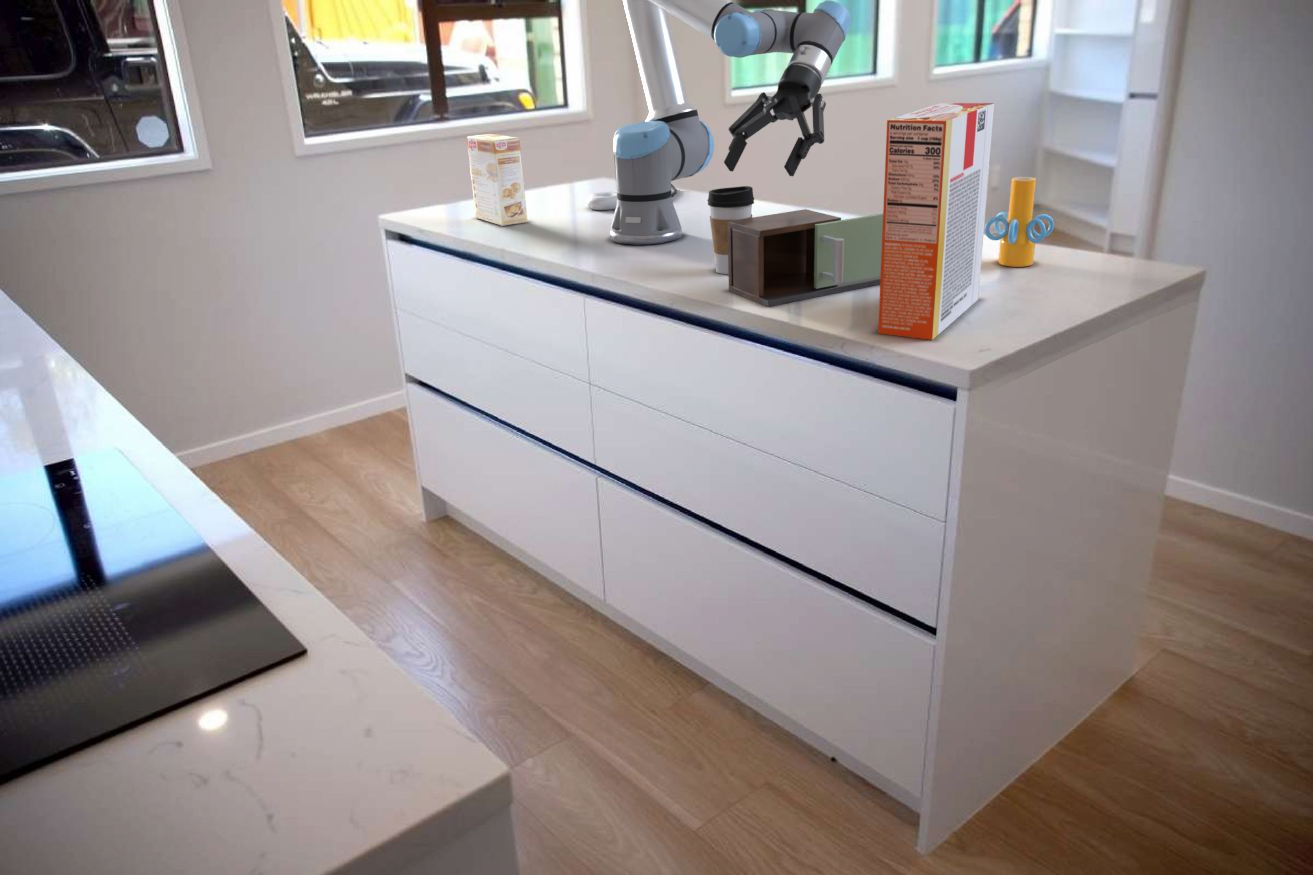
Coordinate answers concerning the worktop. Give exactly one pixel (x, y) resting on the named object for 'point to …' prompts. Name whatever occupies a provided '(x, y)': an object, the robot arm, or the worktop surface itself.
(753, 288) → the cabinet
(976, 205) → the cereal box
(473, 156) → the coffeecake box
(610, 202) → the donut
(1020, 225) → the cylinder
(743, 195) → the coffee cup
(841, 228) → the door
